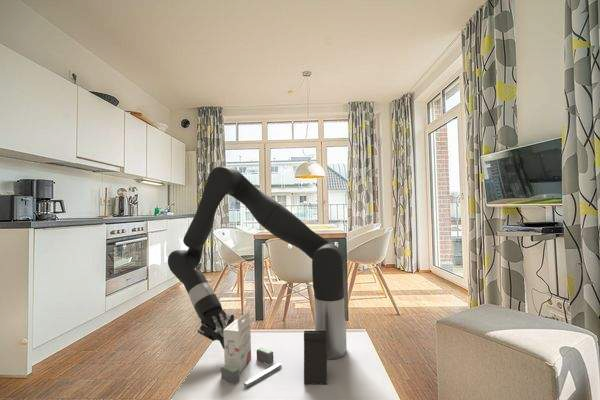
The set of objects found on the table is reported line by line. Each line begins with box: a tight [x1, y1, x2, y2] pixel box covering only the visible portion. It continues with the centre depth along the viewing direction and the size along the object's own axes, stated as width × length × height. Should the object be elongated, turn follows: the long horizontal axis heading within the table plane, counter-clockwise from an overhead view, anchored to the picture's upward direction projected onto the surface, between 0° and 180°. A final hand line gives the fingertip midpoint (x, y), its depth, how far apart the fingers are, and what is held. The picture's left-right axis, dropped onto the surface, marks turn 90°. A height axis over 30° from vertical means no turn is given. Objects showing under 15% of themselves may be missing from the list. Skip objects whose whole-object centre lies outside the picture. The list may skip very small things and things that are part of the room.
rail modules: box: [220, 347, 275, 385], centre depth 95 cm, size 15×5×3 cm, turn 141°
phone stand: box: [303, 330, 328, 385], centre depth 91 cm, size 9×6×12 cm, turn 174°
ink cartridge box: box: [223, 310, 252, 373], centre depth 98 cm, size 9×5×15 cm, turn 166°
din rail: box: [243, 362, 282, 389], centre depth 91 cm, size 13×1×1 cm, turn 141°
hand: (229, 348), depth 100 cm, fingers closed
